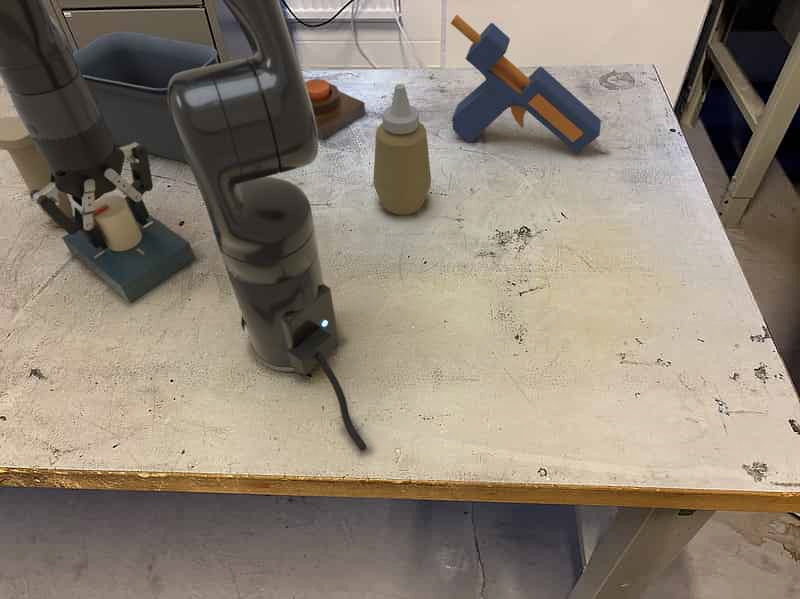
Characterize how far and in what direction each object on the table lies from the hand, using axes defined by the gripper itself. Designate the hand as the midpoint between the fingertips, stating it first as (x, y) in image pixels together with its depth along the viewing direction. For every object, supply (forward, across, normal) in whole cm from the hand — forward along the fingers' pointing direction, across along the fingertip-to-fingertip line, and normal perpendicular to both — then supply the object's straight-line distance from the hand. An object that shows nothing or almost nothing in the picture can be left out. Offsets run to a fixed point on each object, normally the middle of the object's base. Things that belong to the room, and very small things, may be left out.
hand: (121, 233), depth 77 cm
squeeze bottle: (+4, -31, +21) cm, 38 cm away
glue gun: (+4, -55, +26) cm, 61 cm away
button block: (+4, -40, -5) cm, 40 cm away
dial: (+1, 0, 0) cm, 1 cm away
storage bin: (+4, -20, -19) cm, 28 cm away
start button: (+1, -40, -5) cm, 40 cm away
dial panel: (+4, 0, 0) cm, 4 cm away
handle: (+4, +2, -14) cm, 15 cm away
